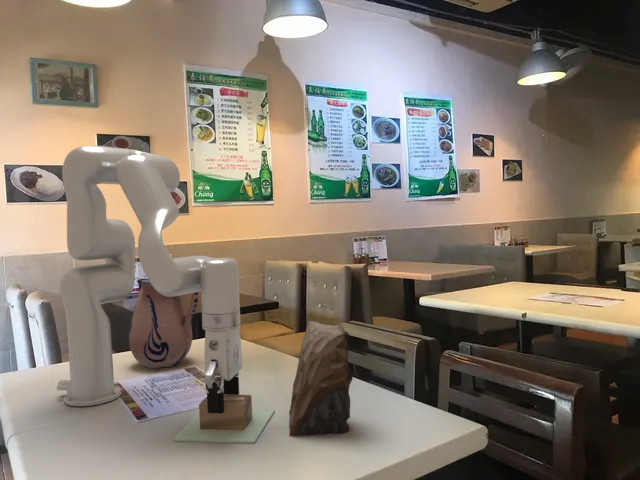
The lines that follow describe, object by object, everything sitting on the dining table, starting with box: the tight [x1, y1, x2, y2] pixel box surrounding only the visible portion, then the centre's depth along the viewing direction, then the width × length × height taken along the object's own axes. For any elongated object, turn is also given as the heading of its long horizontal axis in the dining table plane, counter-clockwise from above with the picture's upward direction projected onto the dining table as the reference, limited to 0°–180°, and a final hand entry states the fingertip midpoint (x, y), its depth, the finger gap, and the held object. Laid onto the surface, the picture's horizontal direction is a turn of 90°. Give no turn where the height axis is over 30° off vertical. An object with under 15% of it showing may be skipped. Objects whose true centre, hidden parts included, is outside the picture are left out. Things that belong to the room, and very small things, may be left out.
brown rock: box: [288, 320, 354, 437], centre depth 110 cm, size 13×13×20 cm
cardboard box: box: [198, 394, 253, 430], centre depth 112 cm, size 6×9×5 cm, turn 81°
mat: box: [172, 409, 275, 444], centre depth 112 cm, size 16×16×1 cm
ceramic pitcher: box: [128, 278, 199, 369], centre depth 160 cm, size 18×21×25 cm
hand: (224, 403), depth 112 cm, fingers open, 9 cm apart
